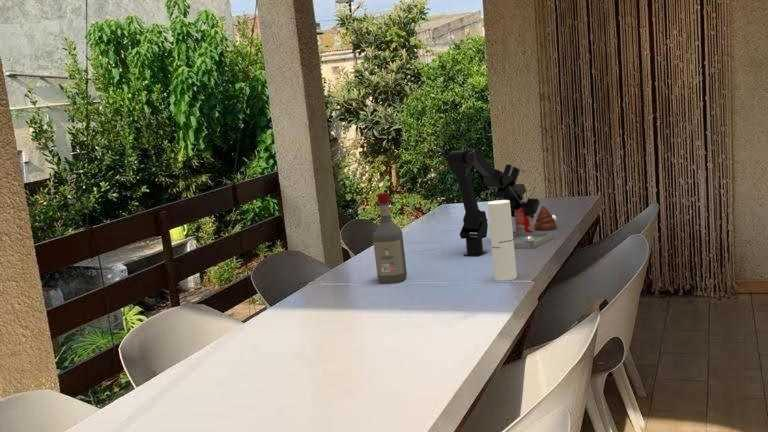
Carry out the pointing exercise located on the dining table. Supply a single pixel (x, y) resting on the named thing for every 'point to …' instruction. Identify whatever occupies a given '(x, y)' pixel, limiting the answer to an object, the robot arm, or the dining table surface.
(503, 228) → the cylindrical container
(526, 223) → the soda can
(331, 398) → the dining table surface
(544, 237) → the gray tray
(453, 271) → the dining table surface
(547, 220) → the poop emoji
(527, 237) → the steel mixing ball
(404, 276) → the liquor
